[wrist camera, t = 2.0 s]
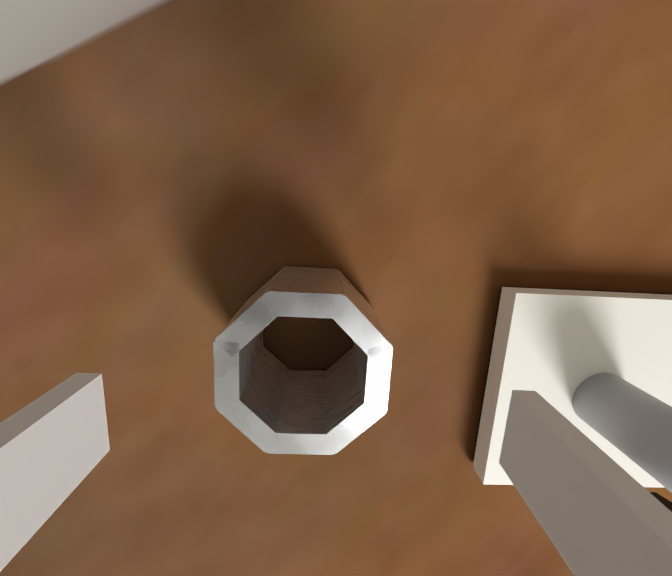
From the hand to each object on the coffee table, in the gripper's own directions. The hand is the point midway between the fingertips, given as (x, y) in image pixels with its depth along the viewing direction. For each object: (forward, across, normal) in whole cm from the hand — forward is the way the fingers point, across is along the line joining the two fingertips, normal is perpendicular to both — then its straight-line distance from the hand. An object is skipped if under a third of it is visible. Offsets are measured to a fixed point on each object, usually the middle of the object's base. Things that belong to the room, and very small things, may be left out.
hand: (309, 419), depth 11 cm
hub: (+9, 0, 0) cm, 9 cm away
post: (+9, +16, -3) cm, 19 cm away
